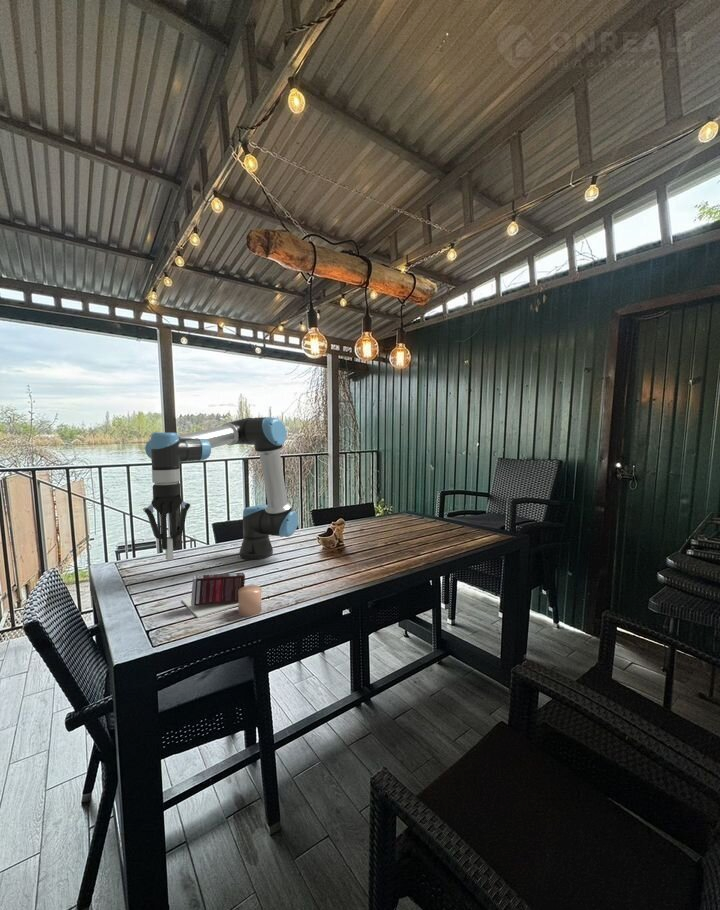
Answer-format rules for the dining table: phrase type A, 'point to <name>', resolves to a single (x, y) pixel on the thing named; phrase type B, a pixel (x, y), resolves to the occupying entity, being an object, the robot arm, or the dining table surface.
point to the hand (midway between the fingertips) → (169, 558)
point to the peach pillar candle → (249, 600)
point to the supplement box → (216, 588)
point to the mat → (208, 607)
